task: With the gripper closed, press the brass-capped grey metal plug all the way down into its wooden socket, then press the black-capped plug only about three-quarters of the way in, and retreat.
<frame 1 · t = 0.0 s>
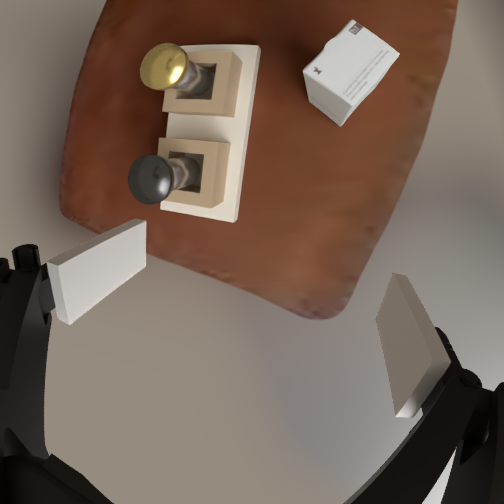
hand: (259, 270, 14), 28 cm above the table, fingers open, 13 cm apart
skincare box: (341, 92, 34), on the table
socket board: (209, 128, 40), on the table
plug brass: (181, 74, 27), point 11 cm above the table, slide at 0.0 cm
plug black: (169, 174, 32), point 11 cm above the table, slide at 0.0 cm
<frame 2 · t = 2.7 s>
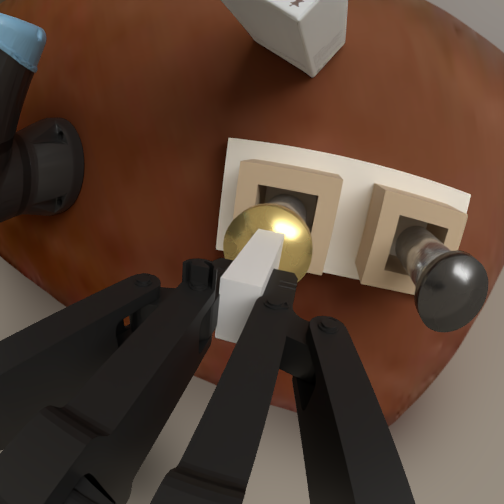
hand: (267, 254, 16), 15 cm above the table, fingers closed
skincare box: (296, 41, 24), on the table
socket board: (346, 215, 29), on the table
plug brass: (277, 229, 21), point 10 cm above the table, slide at 0.8 cm, touching gripper
plug black: (432, 266, 18), point 11 cm above the table, slide at 0.0 cm
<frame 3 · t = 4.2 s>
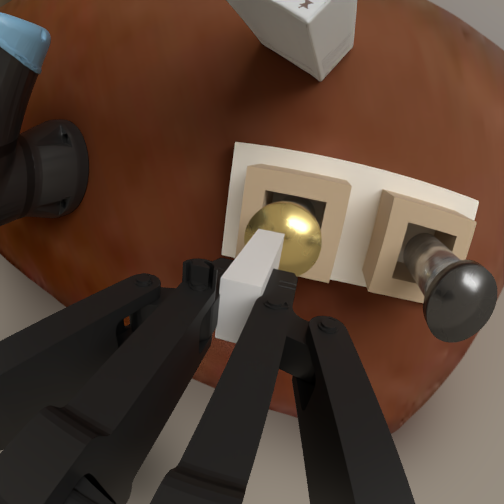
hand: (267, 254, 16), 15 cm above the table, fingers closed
skincare box: (303, 44, 24), on the table
socket board: (353, 221, 29), on the table
plug brass: (290, 225, 24), point 7 cm above the table, slide at 4.0 cm
plug black: (440, 275, 18), point 11 cm above the table, slide at 0.0 cm
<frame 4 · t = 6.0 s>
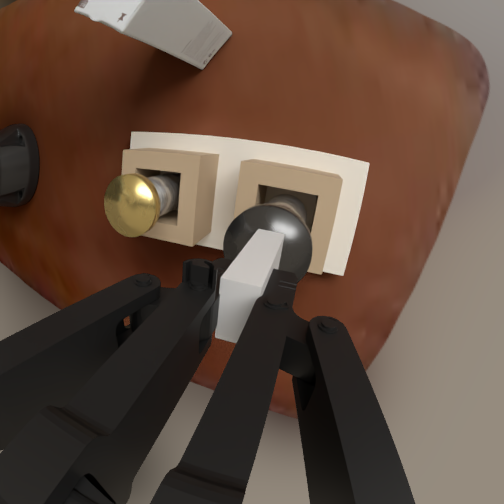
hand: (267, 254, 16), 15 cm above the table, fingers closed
skincare box: (192, 39, 26), on the table
socket board: (236, 193, 31), on the table
plug brass: (156, 196, 26), point 7 cm above the table, slide at 4.0 cm
plug black: (277, 229, 21), point 10 cm above the table, slide at 0.6 cm, touching gripper
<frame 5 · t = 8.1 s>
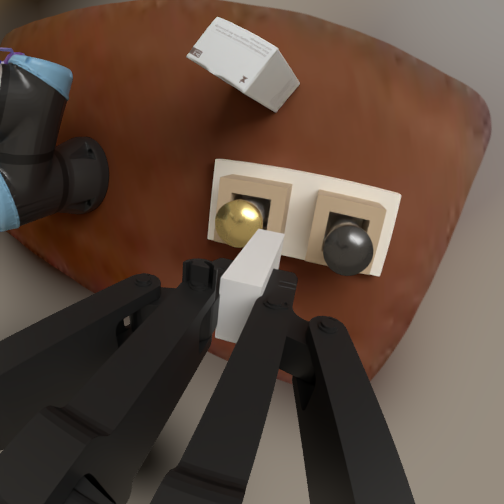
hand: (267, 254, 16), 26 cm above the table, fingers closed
skincare box: (264, 83, 36), on the table
socket board: (301, 213, 41), on the table
plug brass: (248, 215, 36), point 7 cm above the table, slide at 4.0 cm
lantern: (18, 72, 45), on the table
plug black: (346, 238, 32), point 8 cm above the table, slide at 2.8 cm
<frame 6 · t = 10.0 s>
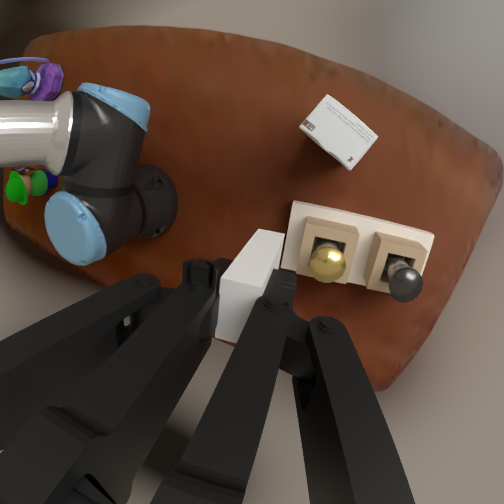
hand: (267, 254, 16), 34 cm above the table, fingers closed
skincare box: (334, 137, 44), on the table
socket board: (358, 248, 49), on the table
toy: (51, 179, 60), on the table
plug brass: (327, 254, 44), point 7 cm above the table, slide at 4.0 cm
lantern: (52, 84, 51), on the table
plug black: (399, 273, 41), point 8 cm above the table, slide at 2.8 cm
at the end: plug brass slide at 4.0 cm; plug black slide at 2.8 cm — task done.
